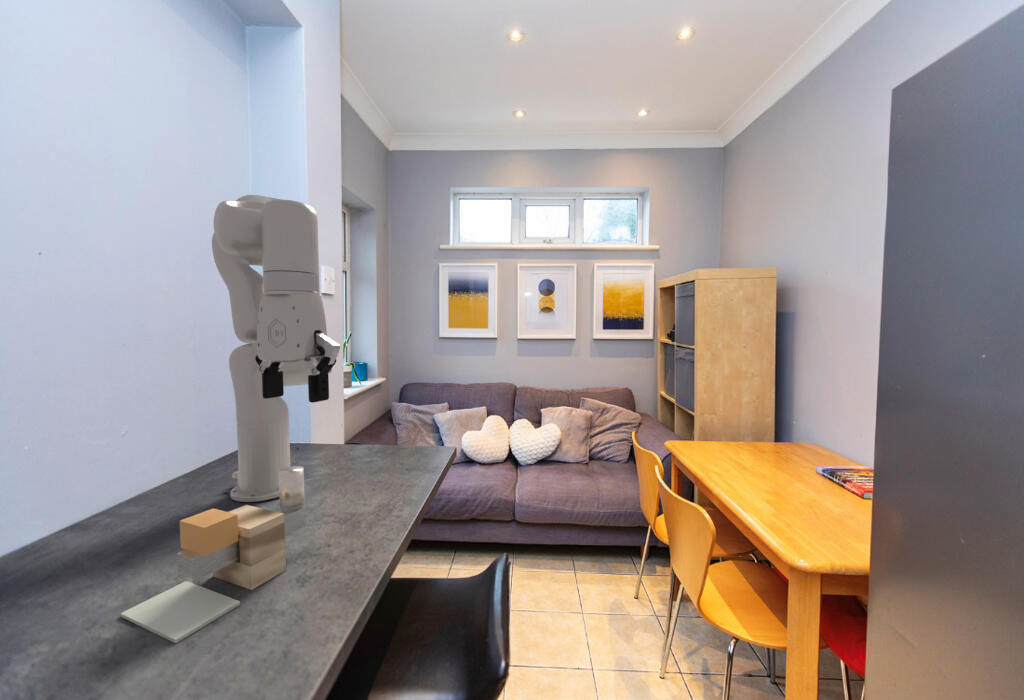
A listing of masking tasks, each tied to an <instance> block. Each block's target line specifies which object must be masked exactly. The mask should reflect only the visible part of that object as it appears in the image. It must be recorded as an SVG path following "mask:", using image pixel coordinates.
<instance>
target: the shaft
mask: <svg viewBox="0 0 1024 700" xmlns="http://www.w3.org/2000/svg"><path fill="white" fill-rule="evenodd" d="M304 469H305V468H304V466H301V465H293V466H291V465H290V467H286V468H283V469H281V470H279V497H278V499H279V509H276V510H274V511H275V512H279V513H283V514H284V526H285V537H287V536H289V535H291V534H292V533H294V532H296V531H298V530H300V529H303V528H304V527H306V526H307V525H306V501H305V473H304V472H305V471H304ZM239 559H240V545H239V535H238V541H237V542H235V543H233V544H231V545H229V546H226V547H224V548H222V549H220V550H218V551H216V552H213V553H211V554H209V555H207V556H204V555H201V554H198V553H195V552H191V551H188V550H185V549H183V550H181V551H178V552H177V553H176V569H177V572H176V573H177V578H178V579H181V580H183V581H188V582H190V583H193V584H194V583H195V582H197V581H200V580H201V579H204V578H205V577H207V576H209V575H211V574H213V572H215V571H217V570H219V569H221V568H223V567H225V566H227V565H229V564H231V563H233V562H235V561H237V560H239Z"/></svg>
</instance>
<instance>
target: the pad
mask: <svg viewBox="0 0 1024 700" xmlns="http://www.w3.org/2000/svg"><path fill="white" fill-rule="evenodd" d="M240 605H241V601H240V600H237V599H235V598H232V597H230V596H227V595H224V594H221V593H219V592H216V591H214V590H212V589H208V588H206V587H203V586H200V585H197V584H195V583H194V582H193V583H191V582H189V581H186V580H184V581H183V582H182V583H180V584H177V585H175V586H173V587H171V588H169V589H167V590H164V591H163V592H161V593H158V594H157V595H154V596H153V597H151V598H149V599H147V600H145V601H143V602H140V603H138V604H137V605H134V606H132V607H130V608H129V609H126V610H124V611H123V612H120V617H121V618H123V619H125V620H127V621H129V622H131V623H133V624H135V625H137V626H139V627H141V628H143V629H145V630H147V631H149V632H151V633H153V634H155V635H157V636H160V637H161V638H163V639H166V640H168V641H170V642H172V643H174V644H177V643H180V642H181V641H182V640H184V639H186V638H188V637H189V636H191V635H192V634H194V633H196V632H197V631H199V630H200V629H203V628H204V627H205V626H207V625H209V624H210V623H212V622H214V621H215V620H217V619H219V618H221V617H222V616H224V615H225V614H227V613H229V612H231V611H232V610H234V609H235V608H237V607H238V606H239V607H240Z"/></svg>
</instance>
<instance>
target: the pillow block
mask: <svg viewBox="0 0 1024 700" xmlns="http://www.w3.org/2000/svg"><path fill="white" fill-rule="evenodd" d="M275 511H276V510H270V509H266V508H263V507H262V508H261V507H256V506H252V505H248V504H245V505H242V506H240V507H236V508H235V509H232V510H229V511H228V512H230V513H233V514H237V516H238V535H239V545H240V559H239V560H237V561H235V562H233V563H231V564H229V565H227V566H225V567H223V568H221V569H219V570H217V571H215V572H213V573H212V577H214V578H216V579H219V580H222V581H225V582H229V583H231V584H232V585H237V586H239V587H242V588H245V589H247V590H251V591H253V590H255V589H256V588H258V587H259V586H261V585H263V584H264V583H266V582H268V581H270V580H271V579H273V578H275V577H277V576H278V575H280V574H282V573H283V572H285V571H286V570H287V563H286V560H287V559H286V558H287V557H286V536H285V526H284V514H283V513H279V512H275Z"/></svg>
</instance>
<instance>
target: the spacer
mask: <svg viewBox="0 0 1024 700" xmlns="http://www.w3.org/2000/svg"><path fill="white" fill-rule="evenodd" d="M179 538H180V539H179V540H180V549H183V550H188V551H191V552H195V553H198V554H201V555H204V556H207V555H209V554H211V553H213V552H216V551H218V550H220V549H222V548H224V547H226V546H229V545H231V544H233V543H235V542H237V541H238V516H237V514H233V513H230V512H229V511H225V510H223V509H222V510H221V509H218V508H211V509H207V510H204V511H201V512H200V513H196V514H194V515H192V516H189V517H186V518H183V519H181V520H179Z"/></svg>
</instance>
